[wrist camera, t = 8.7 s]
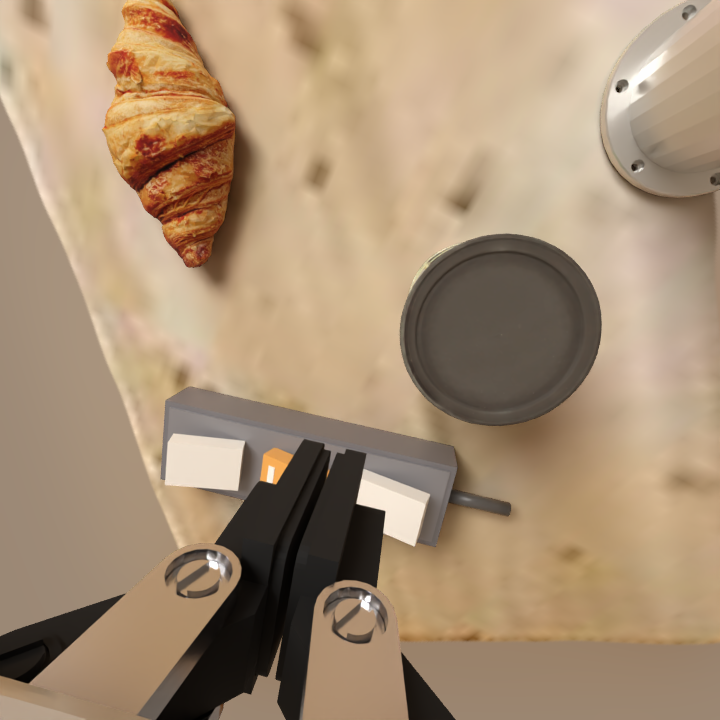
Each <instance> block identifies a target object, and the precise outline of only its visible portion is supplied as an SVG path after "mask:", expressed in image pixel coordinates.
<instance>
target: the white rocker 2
mask: <svg viewBox="0 0 720 720" xmlns="http://www.w3.org/2000/svg"><path fill="white" fill-rule="evenodd" d="M429 498H430V494H428V493H426V492H423V491H420V490H418V489H415V488H413V487H410V486H407V485H405V484H402V483H400V482H397V481H394V480H392V479H389V478H387V477H384V476H381V475H379V474H376V473H373V472H371V471H368V470H366V469H363V474H362V479H361V484H360V488H359V493H358V498H357V503H356V504H359V505H363V506H368V507H372V508H376V509H380V510H384V511H385V512H386V513H385V522H384V530H383V533H384V534H386V535H389V536H391V537H393V538H396V539H398V540H400V541H403V542H405V543H407V544H410V545H412V546H414V547H415V545H416V542H417V540H418V538H419V536H420V532H421V528H422V524H423V521H424V517H425V513H426V509H427V505H428V502H429Z"/></svg>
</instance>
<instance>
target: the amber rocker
mask: <svg viewBox="0 0 720 720" xmlns="http://www.w3.org/2000/svg"><path fill="white" fill-rule="evenodd" d="M293 456H294V455H292V454H290V453H287V452H285V451H283V450H280V449H278V448H273V449H271V450H269V451H268V452H266V453H264V455H263V462H262V470H261V477H260V481H264V482H268V483H273V484H277V482H278V480H279V479H280V477H281V475H282V474H283V472H284V470H285V469H286V467H287V466H288V464H289V462H290V461H291V459H292V457H293ZM329 471H330V470H328V473H327V476H328V474H329ZM326 479H327V478H326Z"/></svg>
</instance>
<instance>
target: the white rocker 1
mask: <svg viewBox="0 0 720 720" xmlns="http://www.w3.org/2000/svg"><path fill="white" fill-rule="evenodd" d="M244 448H245V441H242V440H232V439H223V438H213V437H203V436H194V435H184V434H174V433H173V435H172V437H171V438H170V440H169V441H168V446H167V461H166V476H165V485H174V486H186V487H198V488H210V489H222V490H234V491H238V488H239V484H240V481H241V472H242V464H243V456H244Z"/></svg>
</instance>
